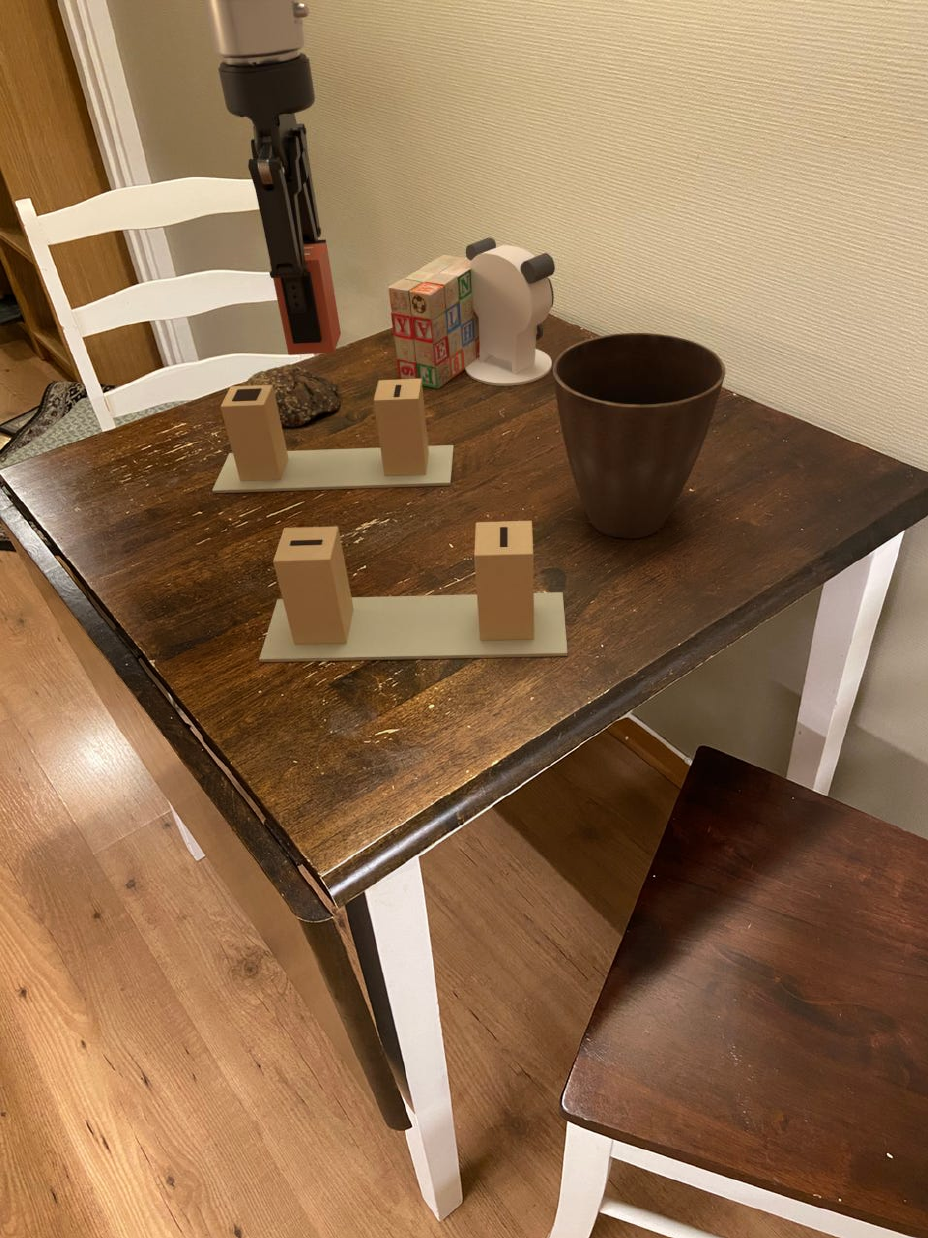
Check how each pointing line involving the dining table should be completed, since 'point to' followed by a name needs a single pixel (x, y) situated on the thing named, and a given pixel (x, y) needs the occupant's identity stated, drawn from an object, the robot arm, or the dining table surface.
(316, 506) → the dining table surface
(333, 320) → the equals sign block
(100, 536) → the dining table surface
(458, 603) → the front word
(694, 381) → the flower pot
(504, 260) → the panda figurine
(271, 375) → the bread roll
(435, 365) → the stack of blocks
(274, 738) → the dining table surface
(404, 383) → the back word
